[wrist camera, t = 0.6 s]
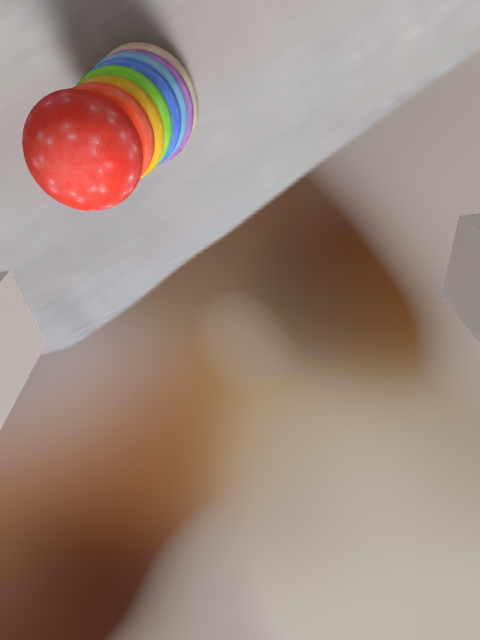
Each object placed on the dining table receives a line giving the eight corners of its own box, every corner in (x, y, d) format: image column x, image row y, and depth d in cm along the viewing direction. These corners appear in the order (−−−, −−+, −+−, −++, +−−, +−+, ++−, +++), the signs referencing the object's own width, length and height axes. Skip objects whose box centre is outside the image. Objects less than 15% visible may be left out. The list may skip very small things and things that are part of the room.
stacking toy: (179, 27, 29) (134, 22, 13) (210, 143, 33) (204, 236, 18) (76, 59, 30) (-75, 88, 14) (121, 167, 34) (42, 277, 19)
